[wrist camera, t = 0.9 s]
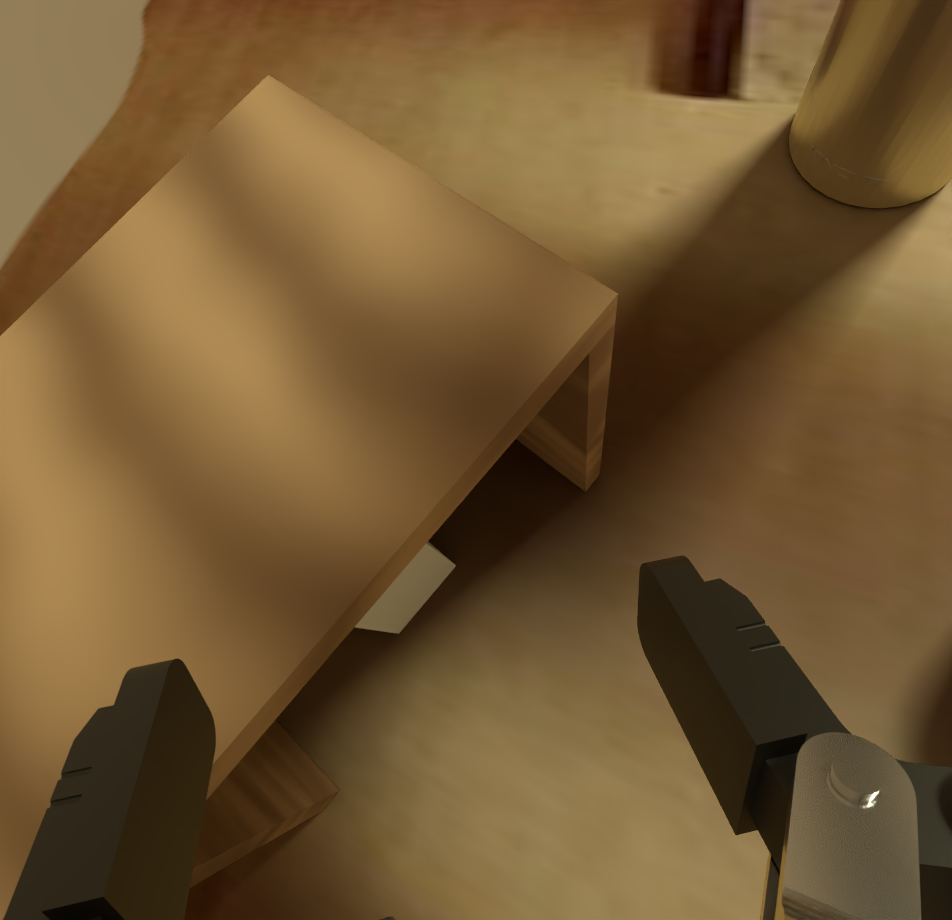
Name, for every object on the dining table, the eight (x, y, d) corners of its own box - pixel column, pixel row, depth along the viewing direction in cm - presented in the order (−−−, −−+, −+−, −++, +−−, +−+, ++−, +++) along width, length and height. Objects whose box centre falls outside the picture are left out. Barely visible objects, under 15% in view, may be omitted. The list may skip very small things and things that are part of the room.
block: (395, 512, 35) (305, 441, 23) (456, 565, 33) (392, 517, 22) (339, 576, 34) (218, 535, 23) (398, 633, 33) (302, 619, 21)
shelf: (404, 329, 38) (268, 74, 21) (599, 474, 33) (618, 294, 17) (146, 612, 35) (-238, 568, 19) (322, 810, 31) (23, 984, 14)
